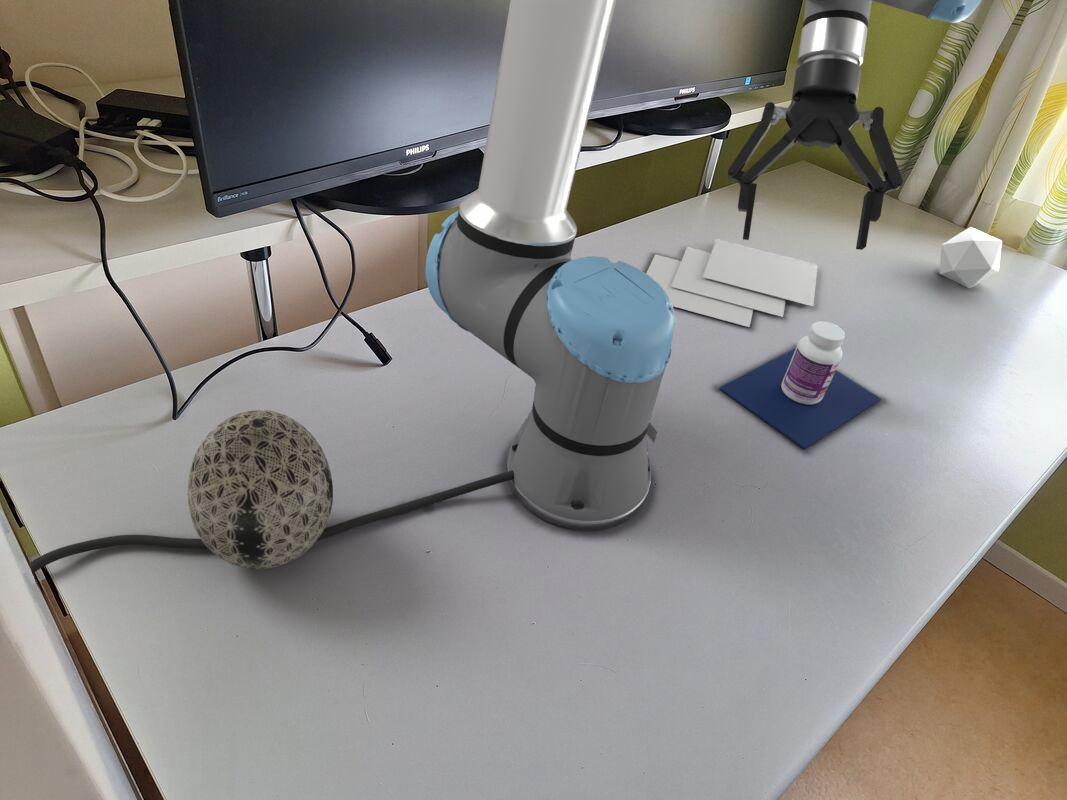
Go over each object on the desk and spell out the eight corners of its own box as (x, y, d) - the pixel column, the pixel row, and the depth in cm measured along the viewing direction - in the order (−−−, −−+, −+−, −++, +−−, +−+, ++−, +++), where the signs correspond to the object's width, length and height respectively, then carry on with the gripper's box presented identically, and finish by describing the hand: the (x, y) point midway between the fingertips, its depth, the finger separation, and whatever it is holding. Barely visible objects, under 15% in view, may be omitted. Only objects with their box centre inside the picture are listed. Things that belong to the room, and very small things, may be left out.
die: (995, 289, 127) (997, 228, 126) (1003, 285, 118) (1005, 220, 118) (938, 291, 130) (939, 232, 129) (941, 287, 122) (943, 224, 121)
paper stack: (808, 343, 106) (810, 339, 105) (635, 296, 110) (636, 292, 110) (816, 268, 123) (817, 264, 123) (666, 229, 128) (667, 226, 127)
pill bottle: (824, 410, 94) (853, 347, 88) (781, 401, 95) (807, 338, 89) (820, 384, 98) (848, 322, 92) (779, 375, 99) (804, 313, 93)
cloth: (803, 449, 89) (804, 448, 88) (718, 389, 96) (719, 387, 96) (880, 400, 98) (881, 398, 98) (797, 348, 105) (798, 346, 105)
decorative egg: (220, 496, 74) (193, 374, 64) (344, 499, 75) (336, 381, 65) (186, 598, 65) (149, 475, 55) (327, 599, 66) (315, 479, 57)
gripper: (932, 81, 93) (904, 256, 95) (724, 74, 99) (701, 238, 101) (949, 58, 86) (918, 247, 87) (723, 52, 92) (699, 229, 93)
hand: (802, 243), depth 94 cm, fingers open, 13 cm apart
